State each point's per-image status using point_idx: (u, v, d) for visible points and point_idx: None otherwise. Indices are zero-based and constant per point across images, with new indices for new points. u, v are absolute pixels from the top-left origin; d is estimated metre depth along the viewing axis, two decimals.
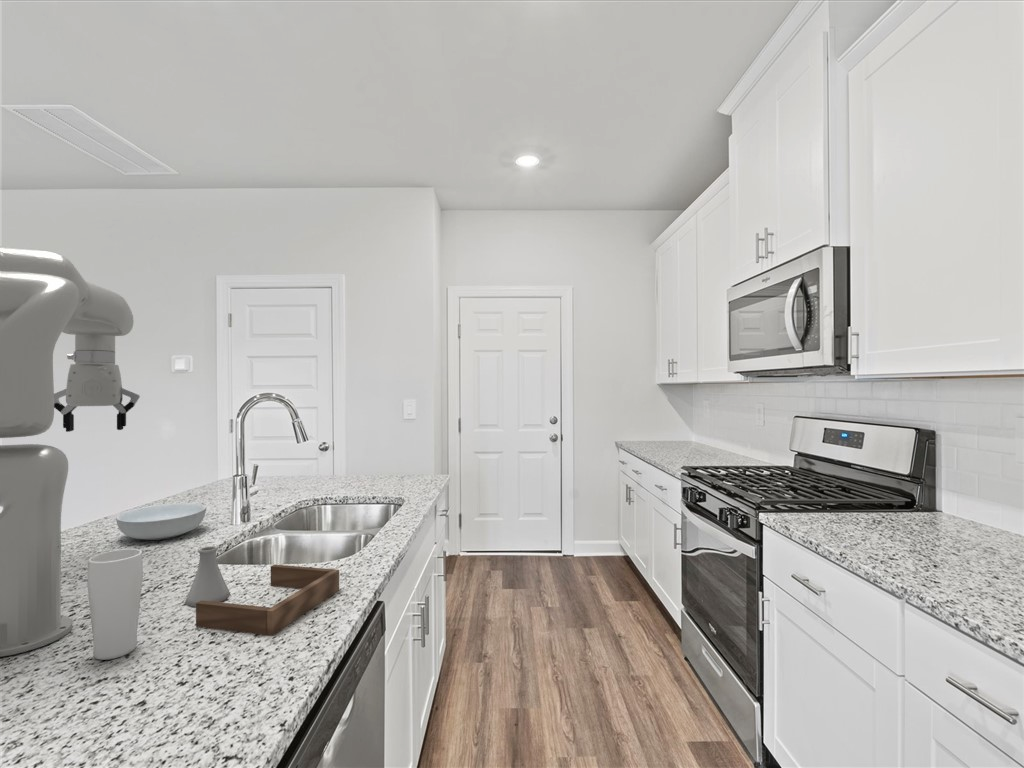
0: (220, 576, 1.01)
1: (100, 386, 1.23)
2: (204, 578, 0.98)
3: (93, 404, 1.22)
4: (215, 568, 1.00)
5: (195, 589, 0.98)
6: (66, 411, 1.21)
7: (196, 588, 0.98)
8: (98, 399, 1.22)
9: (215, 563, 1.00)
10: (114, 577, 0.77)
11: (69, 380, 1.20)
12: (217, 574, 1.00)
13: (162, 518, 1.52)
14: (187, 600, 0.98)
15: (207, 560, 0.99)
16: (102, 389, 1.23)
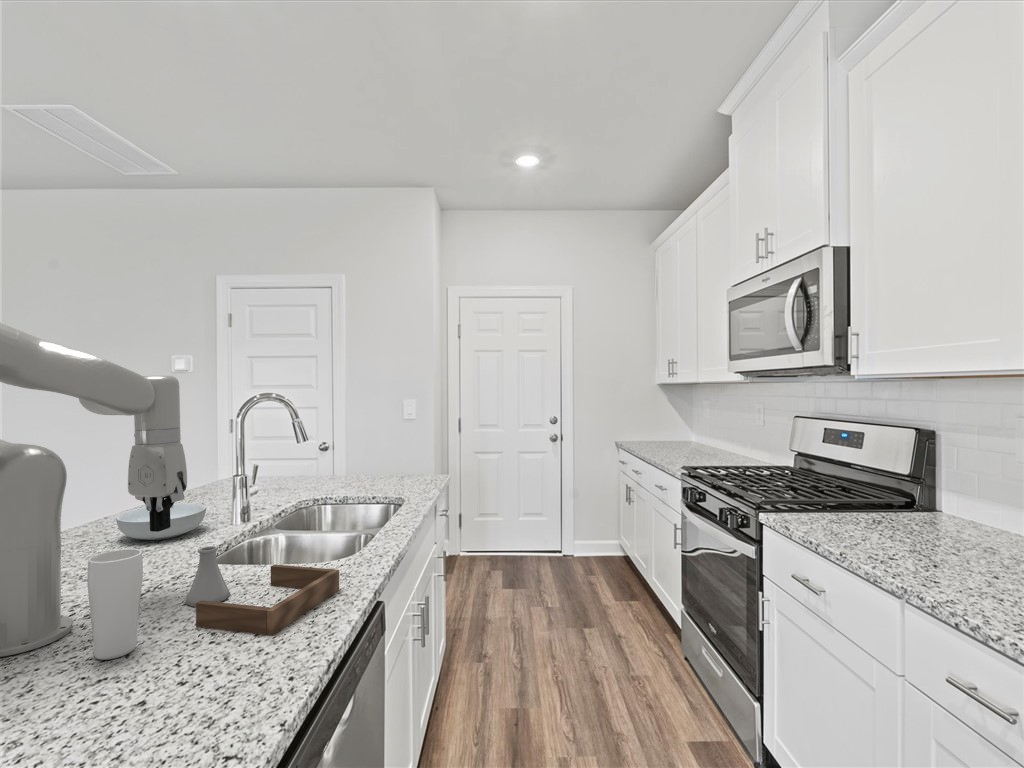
0: (220, 576, 1.01)
1: (152, 473, 1.00)
2: (204, 578, 0.98)
3: (147, 495, 1.00)
4: (215, 568, 1.00)
5: (195, 589, 0.98)
6: (149, 506, 1.02)
7: (196, 588, 0.98)
8: (151, 489, 1.00)
9: (215, 563, 1.00)
10: (114, 577, 0.77)
11: (129, 465, 1.02)
12: (217, 574, 1.00)
13: None
14: (187, 600, 0.98)
15: (207, 560, 0.99)
16: (154, 477, 1.00)
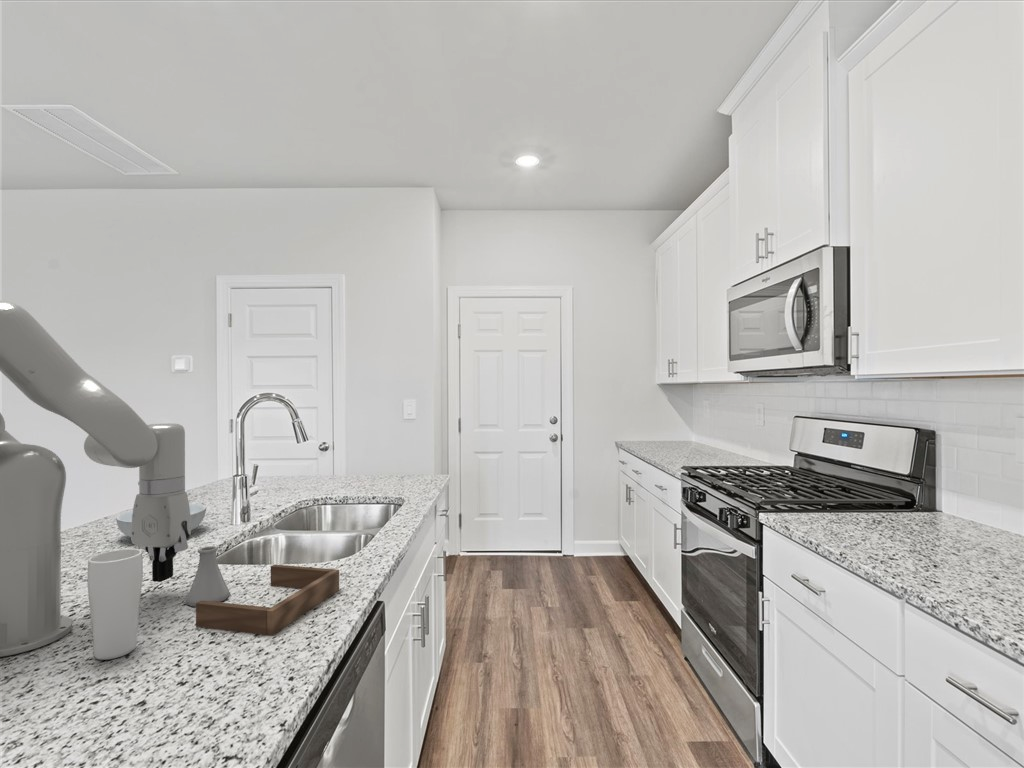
0: (220, 576, 1.01)
1: (156, 523, 0.99)
2: (204, 578, 0.98)
3: (151, 545, 1.00)
4: (215, 568, 1.00)
5: (195, 589, 0.98)
6: (152, 555, 1.01)
7: (196, 588, 0.98)
8: (154, 539, 0.99)
9: (215, 563, 1.00)
10: (114, 577, 0.77)
11: (133, 514, 1.01)
12: (217, 574, 1.00)
13: None
14: (187, 600, 0.98)
15: (207, 560, 0.99)
16: (158, 527, 0.99)
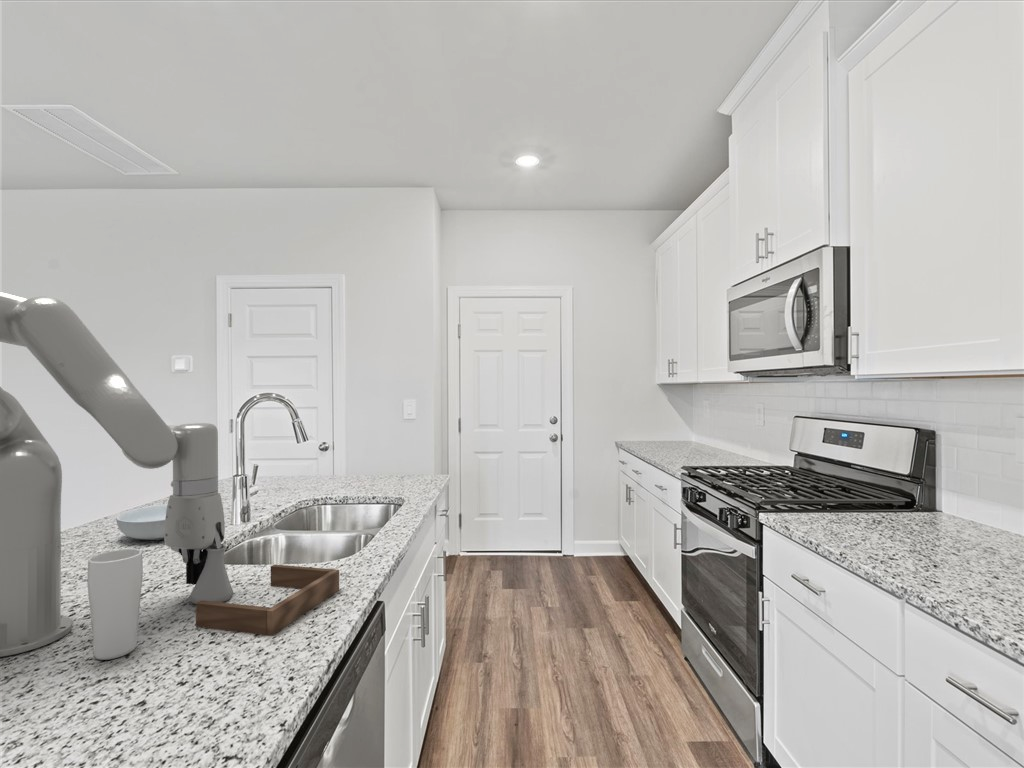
0: (225, 575, 1.00)
1: (191, 525, 0.98)
2: (210, 577, 0.98)
3: (185, 547, 0.98)
4: (222, 567, 1.00)
5: (200, 587, 0.97)
6: (186, 557, 1.00)
7: (201, 586, 0.97)
8: (189, 541, 0.98)
9: (222, 562, 1.00)
10: (114, 577, 0.77)
11: (166, 515, 0.99)
12: (223, 573, 1.00)
13: (162, 518, 1.52)
14: (191, 596, 0.97)
15: (214, 559, 0.98)
16: (192, 529, 0.98)
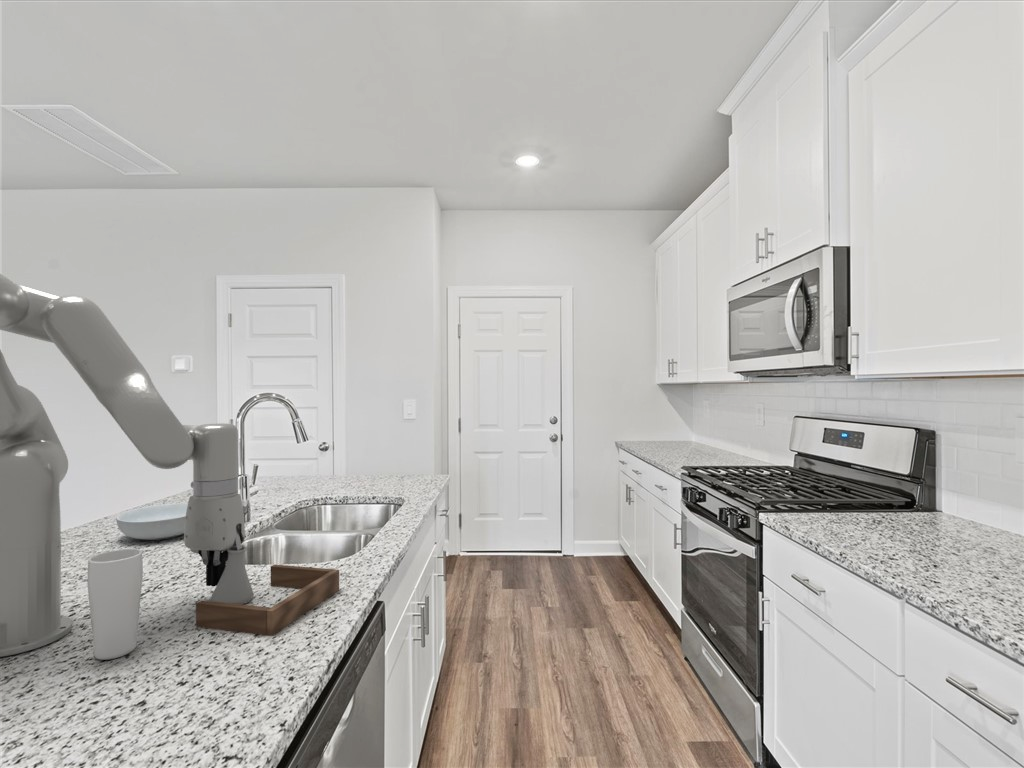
0: (246, 577, 0.99)
1: (211, 526, 0.97)
2: (231, 578, 0.97)
3: (205, 548, 0.97)
4: (243, 569, 0.99)
5: (221, 589, 0.96)
6: (206, 559, 0.99)
7: (222, 588, 0.96)
8: (209, 543, 0.97)
9: (243, 563, 0.99)
10: (114, 577, 0.77)
11: (186, 516, 0.98)
12: (244, 575, 0.99)
13: (162, 518, 1.52)
14: (212, 599, 0.96)
15: (235, 560, 0.97)
16: (213, 530, 0.97)
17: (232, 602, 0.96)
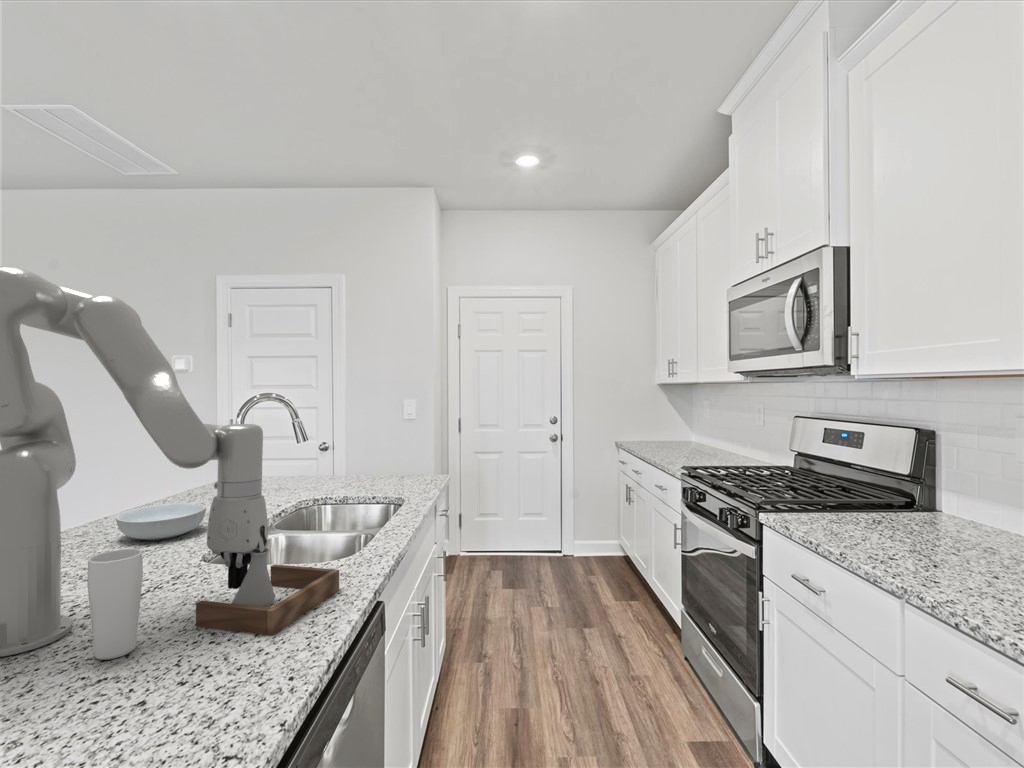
0: (268, 579, 0.98)
1: (235, 528, 0.95)
2: (255, 581, 0.96)
3: (228, 550, 0.96)
4: (266, 571, 0.98)
5: (244, 591, 0.95)
6: (228, 561, 0.97)
7: (245, 591, 0.95)
8: (233, 545, 0.95)
9: (265, 566, 0.98)
10: (114, 577, 0.77)
11: (209, 518, 0.97)
12: (266, 577, 0.98)
13: (162, 518, 1.52)
14: (234, 602, 0.95)
15: (259, 562, 0.96)
16: (237, 532, 0.95)
17: (256, 605, 0.95)
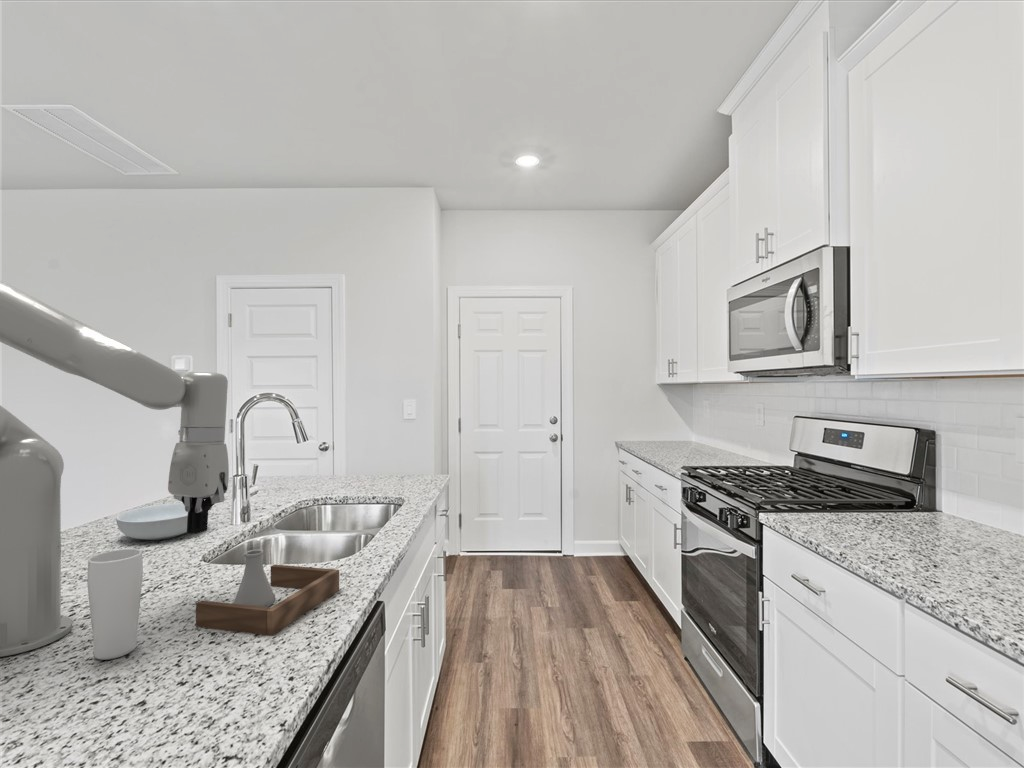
0: (266, 580, 0.98)
1: (195, 472, 0.97)
2: (252, 582, 0.96)
3: (188, 494, 0.97)
4: (262, 572, 0.98)
5: (243, 594, 0.95)
6: (188, 506, 0.99)
7: (243, 593, 0.95)
8: (192, 489, 0.97)
9: (261, 567, 0.98)
10: (114, 577, 0.77)
11: (171, 462, 0.99)
12: (263, 578, 0.98)
13: (162, 518, 1.52)
14: None
15: (254, 564, 0.96)
16: (196, 476, 0.97)
17: None
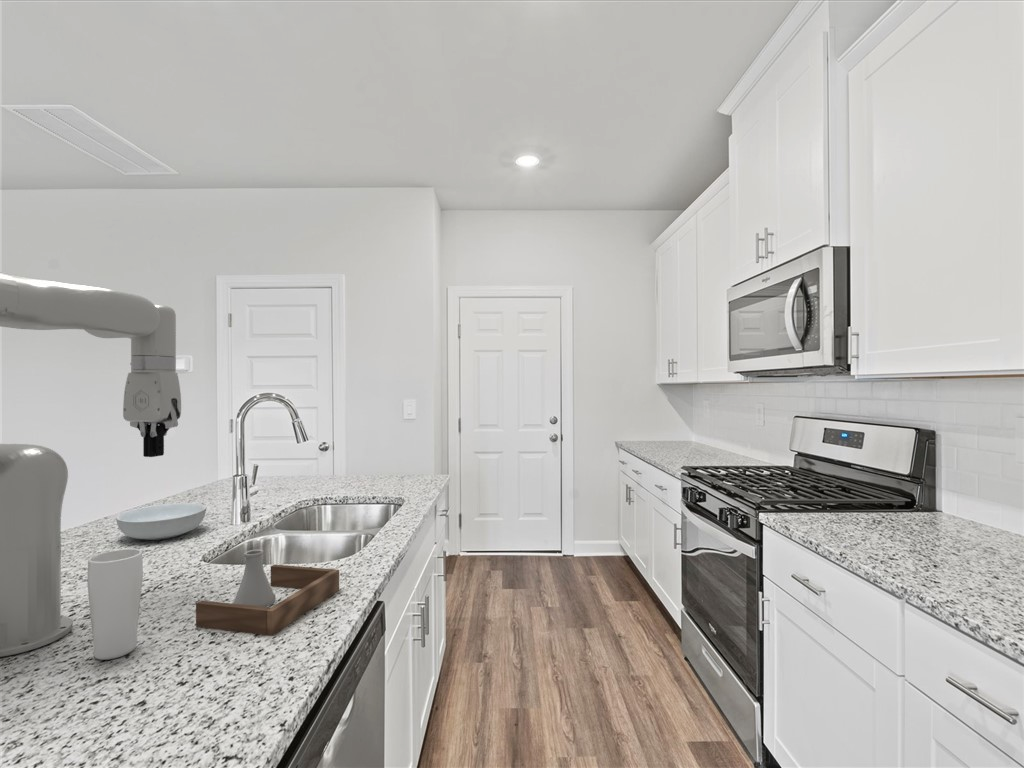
0: (266, 580, 0.98)
1: (147, 398, 1.02)
2: (252, 582, 0.96)
3: (142, 420, 1.03)
4: (262, 572, 0.98)
5: (243, 594, 0.95)
6: (144, 432, 1.04)
7: (243, 593, 0.95)
8: (145, 414, 1.03)
9: (261, 567, 0.98)
10: (114, 577, 0.77)
11: (125, 391, 1.04)
12: (264, 578, 0.98)
13: (162, 518, 1.52)
14: None
15: (254, 564, 0.96)
16: (149, 402, 1.02)
17: None
